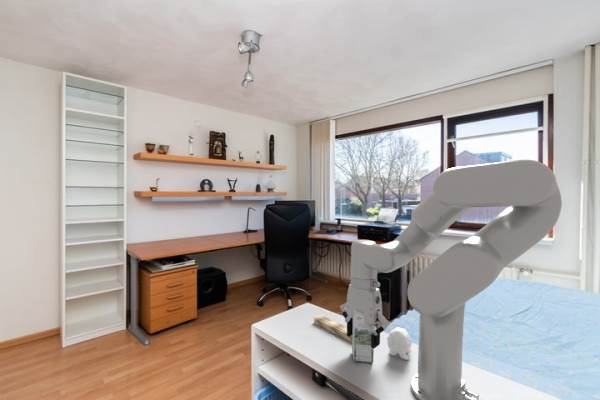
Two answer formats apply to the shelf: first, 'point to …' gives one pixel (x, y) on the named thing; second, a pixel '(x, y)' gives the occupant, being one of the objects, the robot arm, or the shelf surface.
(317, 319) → the plank
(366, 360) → the syrup box
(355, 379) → the shelf surface
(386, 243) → the robot arm
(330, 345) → the shelf surface
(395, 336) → the white figurine
